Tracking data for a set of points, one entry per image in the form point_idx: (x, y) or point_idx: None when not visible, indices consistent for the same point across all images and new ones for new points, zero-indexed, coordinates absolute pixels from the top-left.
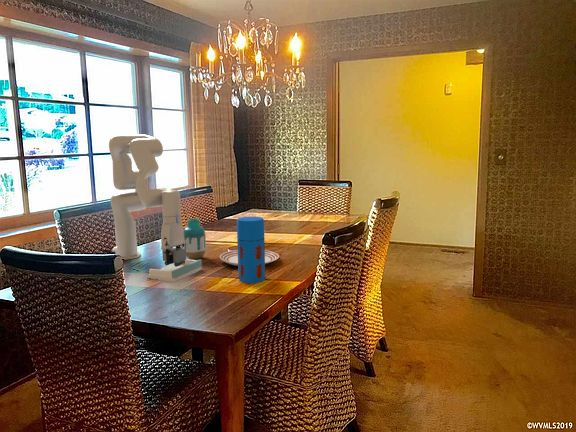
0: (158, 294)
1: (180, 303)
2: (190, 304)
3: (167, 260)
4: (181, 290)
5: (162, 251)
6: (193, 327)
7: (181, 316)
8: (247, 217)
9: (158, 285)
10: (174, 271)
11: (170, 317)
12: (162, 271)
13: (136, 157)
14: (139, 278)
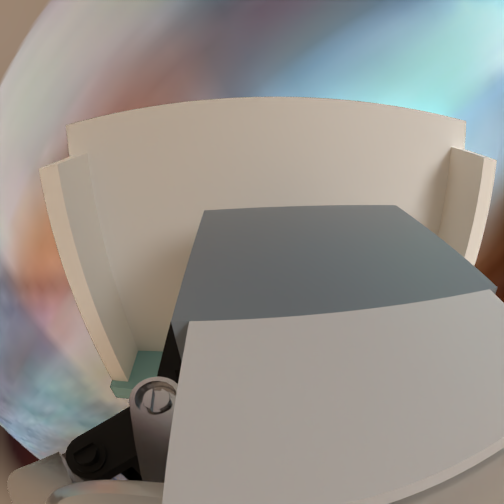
0: (19, 361)
1: (50, 428)
2: (66, 443)
3: (172, 333)
4: (95, 406)
5: (179, 305)
6: (36, 455)
7: (31, 439)
8: None
9: (50, 304)
10: (124, 395)
11: (14, 427)
12: (82, 313)
13: None
14: (55, 80)
